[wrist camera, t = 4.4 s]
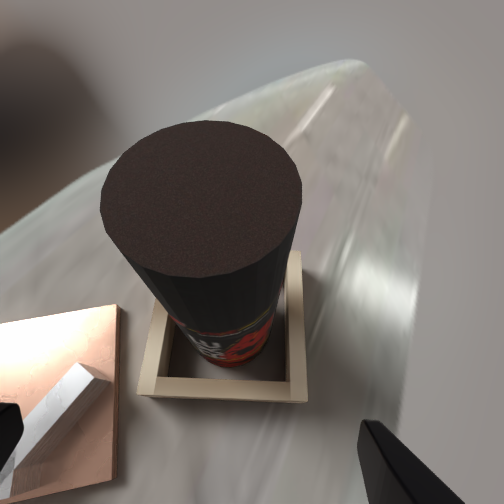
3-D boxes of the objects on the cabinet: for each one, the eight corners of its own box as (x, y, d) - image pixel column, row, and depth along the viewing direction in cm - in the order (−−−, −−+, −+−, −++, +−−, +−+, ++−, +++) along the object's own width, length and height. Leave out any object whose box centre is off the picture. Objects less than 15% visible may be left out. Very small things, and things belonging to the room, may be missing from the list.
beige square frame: (301, 403, 20) (307, 401, 17) (148, 396, 20) (136, 394, 17) (296, 265, 24) (300, 250, 22) (173, 261, 24) (166, 246, 22)
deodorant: (267, 285, 24) (290, 118, 10) (274, 365, 21) (317, 273, 8) (191, 288, 23) (118, 122, 10) (187, 369, 20) (78, 283, 7)
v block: (-37, 335, 21) (-80, 322, 19) (120, 307, 23) (102, 292, 20) (-89, 524, 16) (-158, 546, 14) (116, 477, 18) (91, 488, 15)
